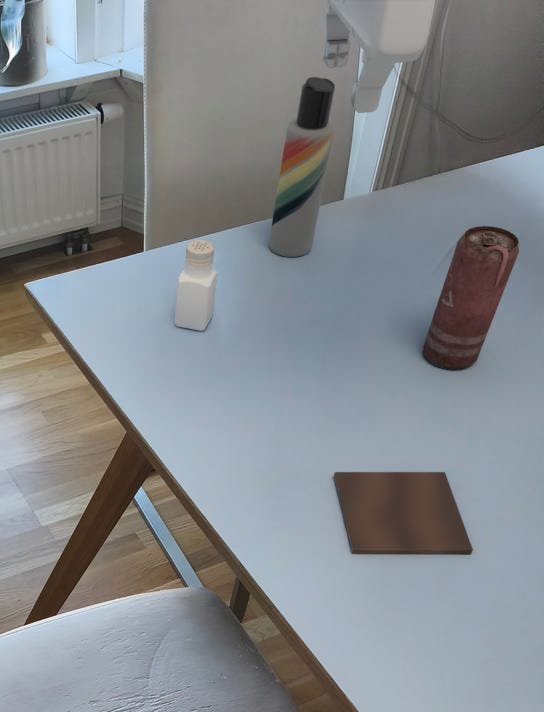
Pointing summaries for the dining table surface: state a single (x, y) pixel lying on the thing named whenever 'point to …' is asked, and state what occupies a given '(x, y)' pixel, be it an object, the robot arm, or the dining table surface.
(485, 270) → the can
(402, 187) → the dining table surface
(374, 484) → the walnut board
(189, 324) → the salt shaker
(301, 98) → the lotion bottle
